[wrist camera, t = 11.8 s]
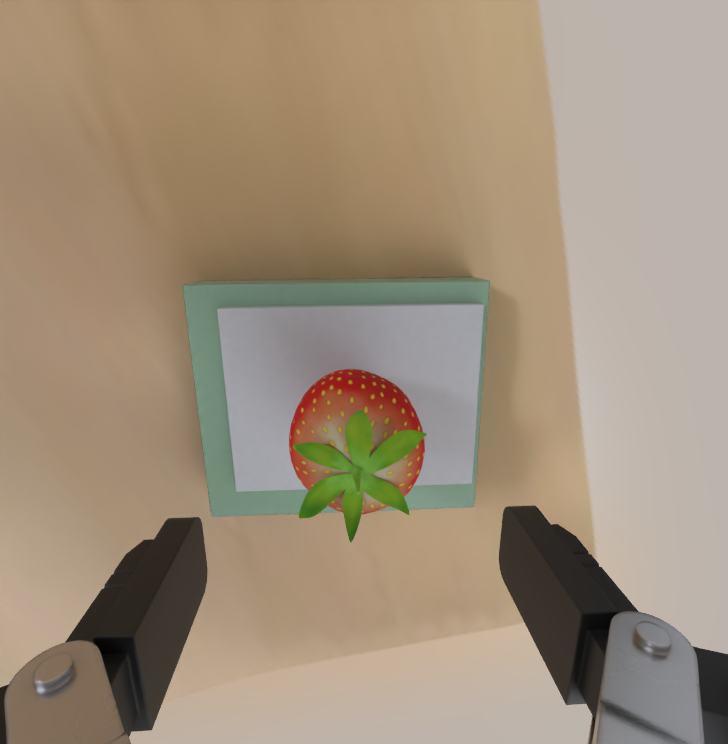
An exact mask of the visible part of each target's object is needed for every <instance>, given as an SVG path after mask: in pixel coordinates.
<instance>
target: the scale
mask: <svg viewBox="0 0 728 744" xmlns="http://www.w3.org/2000/svg"><path fill="white" fill-rule="evenodd" d="M489 286H490V281H488V280H484V279H479V278H475V277H453V278H378V279H304V280H229V281H198V282H194V283H189V284H185V285H183V294H184V302H185V310H186V318H187V326H188V334H189V342H190V350H191V358H192V366H193V374H194V382H195V390H196V398H197V406H198V414H199V422H200V430H201V438H202V446H203V454H204V462H205V470H206V478H207V486H208V494H209V502H210V510H211V516H212V517H220V516H247V515H275V514H299V512H300V508H301V506H302V503H303V501H304V499H305V496H306V494H307V493H308V490H307V489H306V488H305V487H304V485H303V484H302V482H301V481H300V480H299V478H298V477H297V475H296V472H295V470H294V468H293V465H292V462H291V457H290V451H289V434H290V427H291V423H292V420H293V417H294V414H295V411H296V408H297V407H298V405H299V403H300V401H301V399H302V397H303V396H304V394H305V393H306V392H307V391H308V390H309V388H310V387H311V386H312V385H313V384H314V383H316V382H317V381H318V380H320V379H321V378H322V377H324V376H325V375H327V374H330V373H332V372H334V371H337V370H344V369H359V370H364V371H368V372H371V373H374V374H376V375H378V376H381V377H383V378H385V379H387V380H388V381H390V382H392V383H394V384H395V385H396V386H398V387H399V388H400V389H401V390H402V391H403V392H404V393H405V394H406V395H407V397H408V399H409V400H410V402H411V404H412V406H413V407H414V409H415V411H416V414H417V416H418V419H419V421H420V424H421V426H422V430H423V432H424V433H426V434H427V435H426V436H425V437H424V442H425V453H424V459H423V464H422V468H421V471H420V474H419V476H418V479H417V481H416V482H415V484H414V485H413V487H412V488H411V490H410V491H409V493H408V494H407V495H406V496H404V498H405V500H406V503H407V506H408V510H411V509H438V508H465V507H474V500H475V486H476V472H477V457H478V443H479V429H480V415H481V400H482V386H483V372H484V357H485V343H486V329H487V314H488V300H489ZM384 510H399V509H396V508H393V507H391V506H389V507H386V508H384V509H381V510H378V511H384ZM329 512H340V511H337V510H335V509H333V508H331V507H329V506H327V507H326V508H325V509H324V510H322V511H321V512H320V513H329Z"/></svg>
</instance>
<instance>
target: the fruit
mask: <svg viewBox="0 0 728 744" xmlns="http://www.w3.org/2000/svg"><path fill="white" fill-rule="evenodd" d="M426 435H427V434H426V433H424V432H423V430H422V426H421V424H420V421H419V419H418V416H417V414H416V411H415V409H414V407H413V406H412V404H411V402H410V400H409V399H408V397H407V395H406V394H405V393H404V392H403V391H402V390H401V389H400V388H399V387H398V386H396V385H395V384H394V383H392V382H390V381H388V380H387V379H385V378H383V377H381V376H378V375H376V374H374V373H371V372H368V371H364V370H359V369H344V370H337V371H334V372H332V373H330V374H327V375H325V376H324V377H322V378H321V379H320V380H318V381H317V382H316V383H314V384H313V385H312V386H311V387H310V388H309V390H308V391H307V392H306V393H305V394H304V396H303V397H302V399H301V401H300V403H299V405H298V407H297V408H296V411H295V414H294V417H293V420H292V423H291V427H290V434H289V451H290V457H291V462H292V465H293V468H294V470H295V472H296V475H297V477H298V478H299V480H300V481H301V482H302V484H303V485H304V487H305V488H306V489H307V490H308V493H307V494H306V496H305V499H304V501H303V503H302V506H301V508H300V512H299V518H309V517H312V516H315V515H316V514H318V513H320V512H321V511H322V510H324V509H325V508H326V507H327V506H329V507H331V508H333V509H335V510H337V511H340V512H344V518H345V523H346V528H347V532H348V536H349V540H350V542H352V540H353V538H354V536H355V533H356V531H357V528H358V525H359V521H360V517H361V514H367V513H371V512H375V511H378V510H381V509H384V508H386V507H389V506H391V507H393V508H396V509H399V510H401V511H403V512H404V513H406V514H408V515H409V510H408V506H407V503H406V500H405V498H404V496H406V495H407V494H408V493H409V491H410V490H411V488H412V487H413V485H414V484H415V482H416V481H417V479H418V476H419V474H420V471H421V468H422V464H423V459H424V453H425V442H424V437H425V436H426Z"/></svg>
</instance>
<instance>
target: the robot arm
mask: <svg viewBox="0 0 728 744" xmlns="http://www.w3.org/2000/svg"><path fill="white" fill-rule="evenodd" d="M499 565H500V571H501V575H502V578H503V580H504V583H505V585H506V586H507V588H508V590H509V592H510V594H511V596H512V598H513V600H514V602H515V604H516V606H517V608H518V610H519V612H520V614H521V616H522V618H523V620H524V622H525V624H526V626H527V628H528V630H529V632H530V634H531V636H532V638H533V640H534V642H535V644H536V646H537V648H538V650H539V652H540V654H541V656H542V658H543V660H544V662H545V663H546V666H547V668H548V670H549V672H550V674H551V676H552V678H553V679H554V682H555V684H556V685H557V687H558V689H559V691H560V693H561V695H562V697H563V699H564V701H565V703H566V705H571V704H587V706H588V708H589V709H590V711H591V713H592V715H593V716H592V721H591V726H590V733H589V739H588V744H728V654H723V653H719V652H714V651H710V650H705V649H700V648H696V647H693V646H692V645H691V644H690V642H689V641H688V640H687V639H686V638H685V637H684V636H683V635H682V634H681V633H680V632H679V631H678V630H677V629H675V628H674V627H673V626H671V625H669V624H668V623H666V622H664V621H663V620H661V619H659V618H656V617H654V616H652V615H649V614H645V613H641V612H638V610H637V609H636V608H635V607H634V606H633V605H632V603H631V602H630V601H629V600H628V599H627V597H626V596H625V595H624V594H623V593H622V591H621V590H620V589H619V588H618V587H617V586H616V584H615V583H614V582H613V581H612V579H611V578H610V577H609V576H608V575H607V573H606V572H605V571H604V570H603V569H602V567H599V564H598V563H597V561H596V560H595V559H594V558H593V557H592V555H591V554H588V551H587V549H586V548H585V547H584V546H583V545H582V543H581V542H580V541H579V540H578V539H577V537H576V536H574V535H573V534H571V533H570V532H568V531H567V530H565V529H564V528H562V527H561V526H559V525H558V524H553V525H551V524H550V523H549V522H548V521H547V519H546V518H545V517H544V515H543V514H542V513H541V512H540V510H539V509H538V508H537V507H536V506H510V507H506V508H505V509H504V512H503V520H502V530H501V540H500V550H499ZM206 583H207V561H206V553H205V545H204V536H203V528H202V522H201V519H200V518H199V517H193V518H169V519H167V520H166V522H165V523H164V525H163V526H162V528H161V529H160V531H159V533H158V534H157V536H156V537H155V539H154V540H144V541H142V542H141V543H140V544H139V545H137V546H136V547H135V548H133V549H132V550H131V551H130V552H128V553H127V554H126V555H125V556H124V558H123V559H122V561H121V562H120V564H119V565H118V567H117V568H116V570H115V571H114V575H111V577H110V578H109V580H108V581H107V583H106V584H105V587H104V589H102V590H101V591H100V593H99V594H98V596H97V597H96V599H95V600H94V601H93V603H92V604H91V606H90V607H89V609H88V610H87V612H86V613H85V615H84V616H83V617H82V619H81V620H80V622H79V623H78V625H77V626H76V628H75V629H74V630H73V632H72V633H71V635H70V636H69V638H68V639H67V641H66V642H65V643H62V644H59V645H57V646H54V647H52V648H50V649H48V650H46V651H44V652H42V653H41V654H39V655H38V656H36V657H35V658H33V659H32V660H31V661H29V662H28V663H27V664H26V665H25V666H24V667H23V668H21V669H20V671H19V672H18V673H17V674H16V675H15V676H14V678H13V679H12V681H11V682H10V684H9V685H6V686H3V687H1V688H0V744H131V743H130V740H129V736H130V733H131V731H146V730H152V728H153V725H154V723H155V720H156V718H157V715H158V712H159V710H160V707H161V705H162V702H163V699H164V697H165V694H166V692H167V689H168V686H169V684H170V681H171V679H172V676H173V673H174V671H175V668H176V666H177V663H178V660H179V658H180V655H181V653H182V650H183V647H184V645H185V642H186V640H187V637H188V634H189V632H190V629H191V627H192V624H193V621H194V619H195V616H196V614H197V611H198V608H199V606H200V603H201V600H202V598H203V595H204V592H205V588H206Z"/></svg>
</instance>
